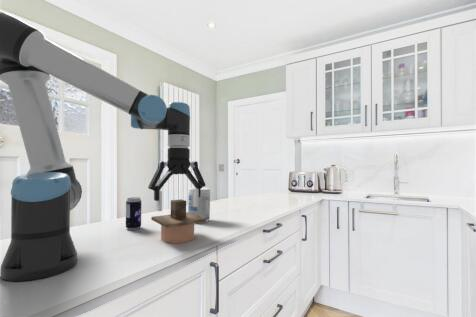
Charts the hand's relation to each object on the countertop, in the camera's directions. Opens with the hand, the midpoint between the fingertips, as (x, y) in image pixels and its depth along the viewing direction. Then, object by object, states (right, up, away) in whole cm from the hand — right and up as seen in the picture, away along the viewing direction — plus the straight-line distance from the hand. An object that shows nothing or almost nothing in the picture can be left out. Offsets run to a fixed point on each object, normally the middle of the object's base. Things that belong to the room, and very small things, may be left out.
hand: (178, 208), depth 91 cm
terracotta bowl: (0, -10, 0) cm, 10 cm away
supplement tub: (+4, -11, +25) cm, 27 cm away
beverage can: (-20, -10, +12) cm, 26 cm away
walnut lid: (0, -4, 0) cm, 4 cm away
